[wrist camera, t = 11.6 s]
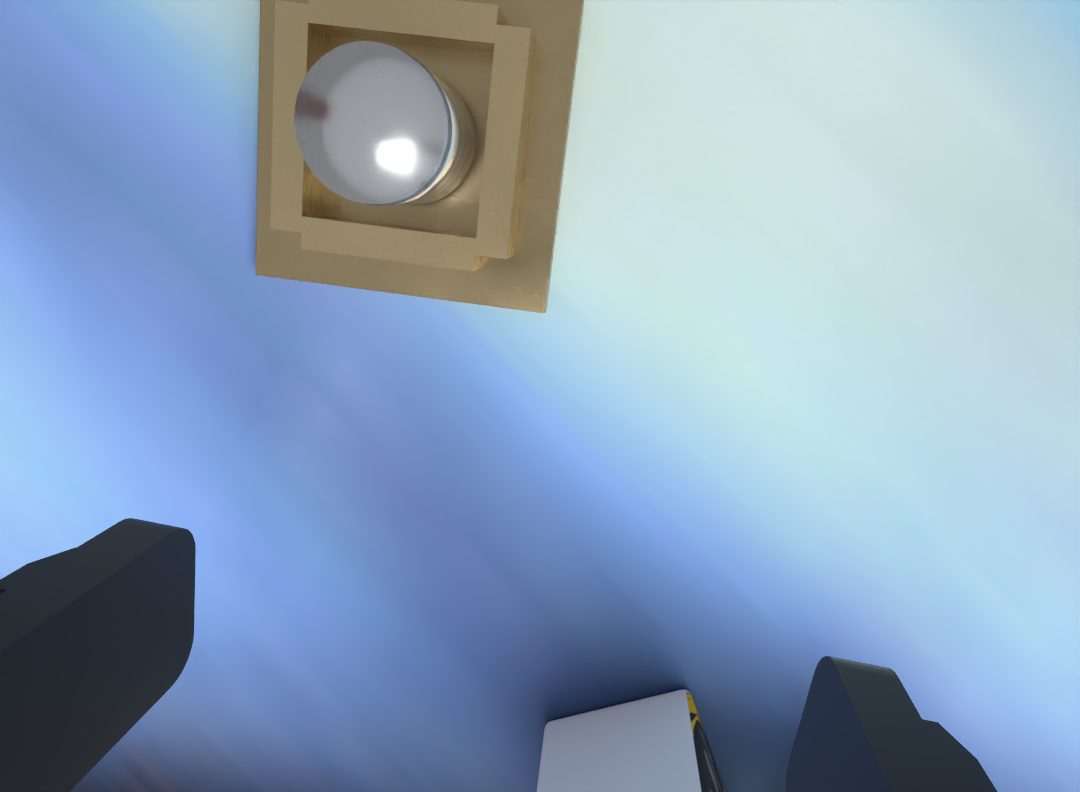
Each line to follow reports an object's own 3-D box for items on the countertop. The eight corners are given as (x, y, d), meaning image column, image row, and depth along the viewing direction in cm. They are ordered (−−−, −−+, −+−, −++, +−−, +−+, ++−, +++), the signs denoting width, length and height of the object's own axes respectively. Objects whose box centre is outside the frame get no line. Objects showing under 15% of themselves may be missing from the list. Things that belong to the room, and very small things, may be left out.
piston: (482, 78, 27) (452, 48, 22) (469, 213, 29) (438, 214, 23) (355, 63, 28) (295, 30, 22) (347, 197, 29) (290, 195, 24)
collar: (585, -14, 27) (583, -36, 24) (546, 311, 30) (540, 320, 27) (268, -47, 27) (234, -73, 25) (262, 273, 31) (231, 279, 28)
